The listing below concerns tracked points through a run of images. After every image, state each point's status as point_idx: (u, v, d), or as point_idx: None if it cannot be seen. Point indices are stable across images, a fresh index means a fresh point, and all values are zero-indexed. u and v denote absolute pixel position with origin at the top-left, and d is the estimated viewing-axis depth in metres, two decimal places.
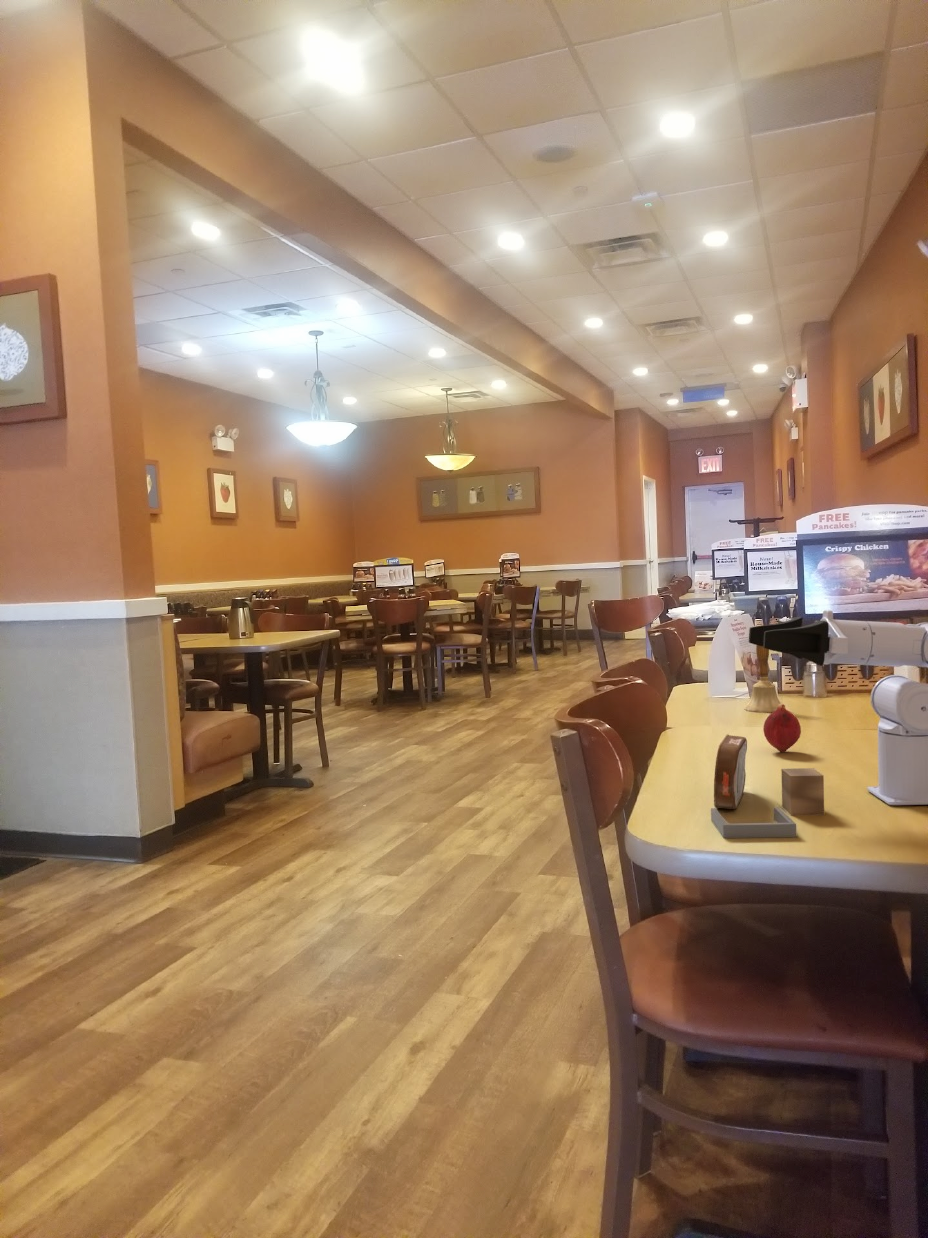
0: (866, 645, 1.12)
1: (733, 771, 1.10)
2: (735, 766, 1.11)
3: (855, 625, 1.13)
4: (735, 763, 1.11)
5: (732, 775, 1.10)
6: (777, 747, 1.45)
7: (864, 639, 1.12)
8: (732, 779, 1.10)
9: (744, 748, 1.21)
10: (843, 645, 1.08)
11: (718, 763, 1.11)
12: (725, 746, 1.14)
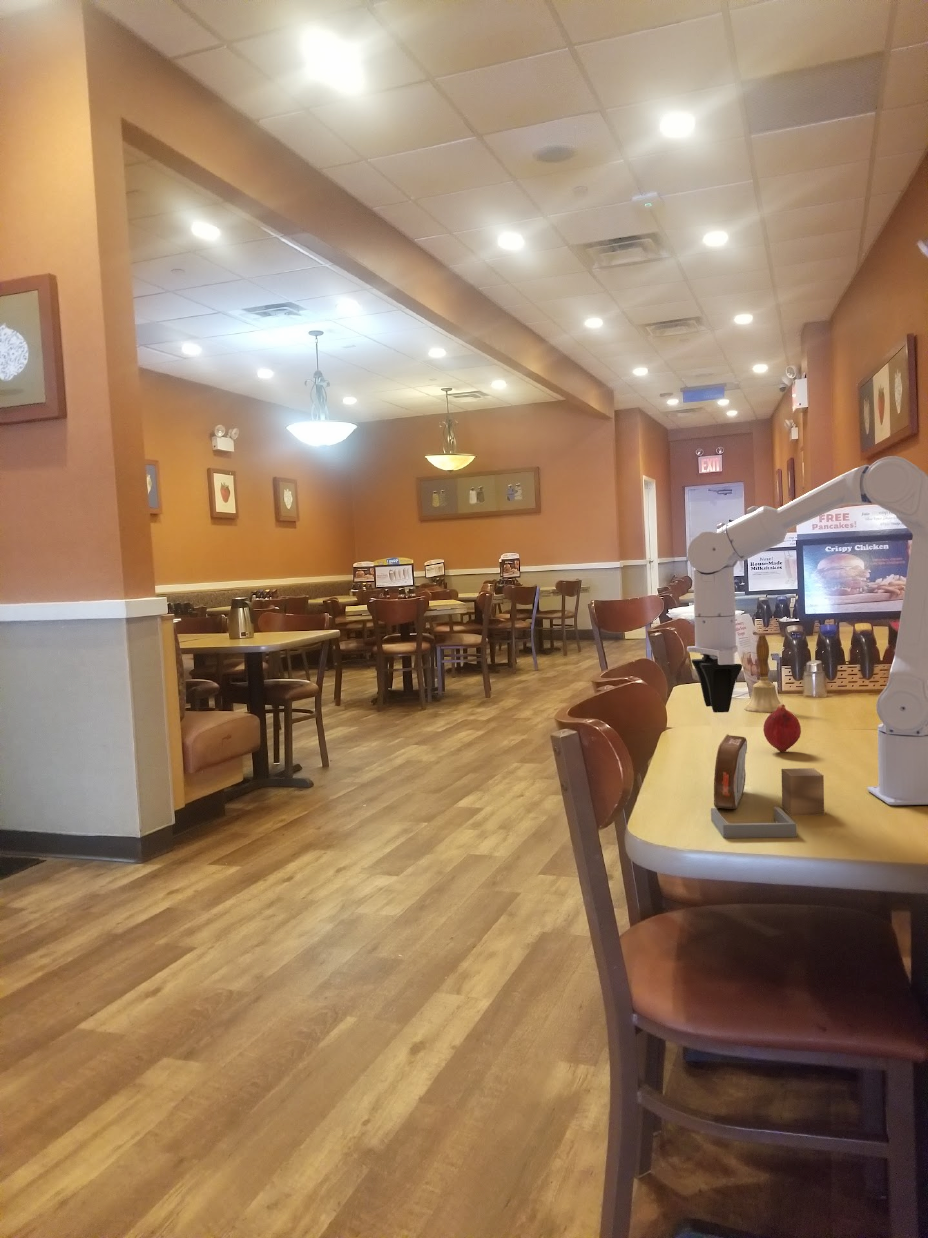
0: (719, 621, 1.25)
1: (733, 771, 1.10)
2: (735, 766, 1.11)
3: (701, 629, 1.27)
4: (735, 763, 1.11)
5: (732, 775, 1.10)
6: (777, 747, 1.45)
7: (714, 623, 1.25)
8: (732, 779, 1.10)
9: None
10: (725, 654, 1.21)
11: (718, 763, 1.11)
12: (725, 746, 1.14)
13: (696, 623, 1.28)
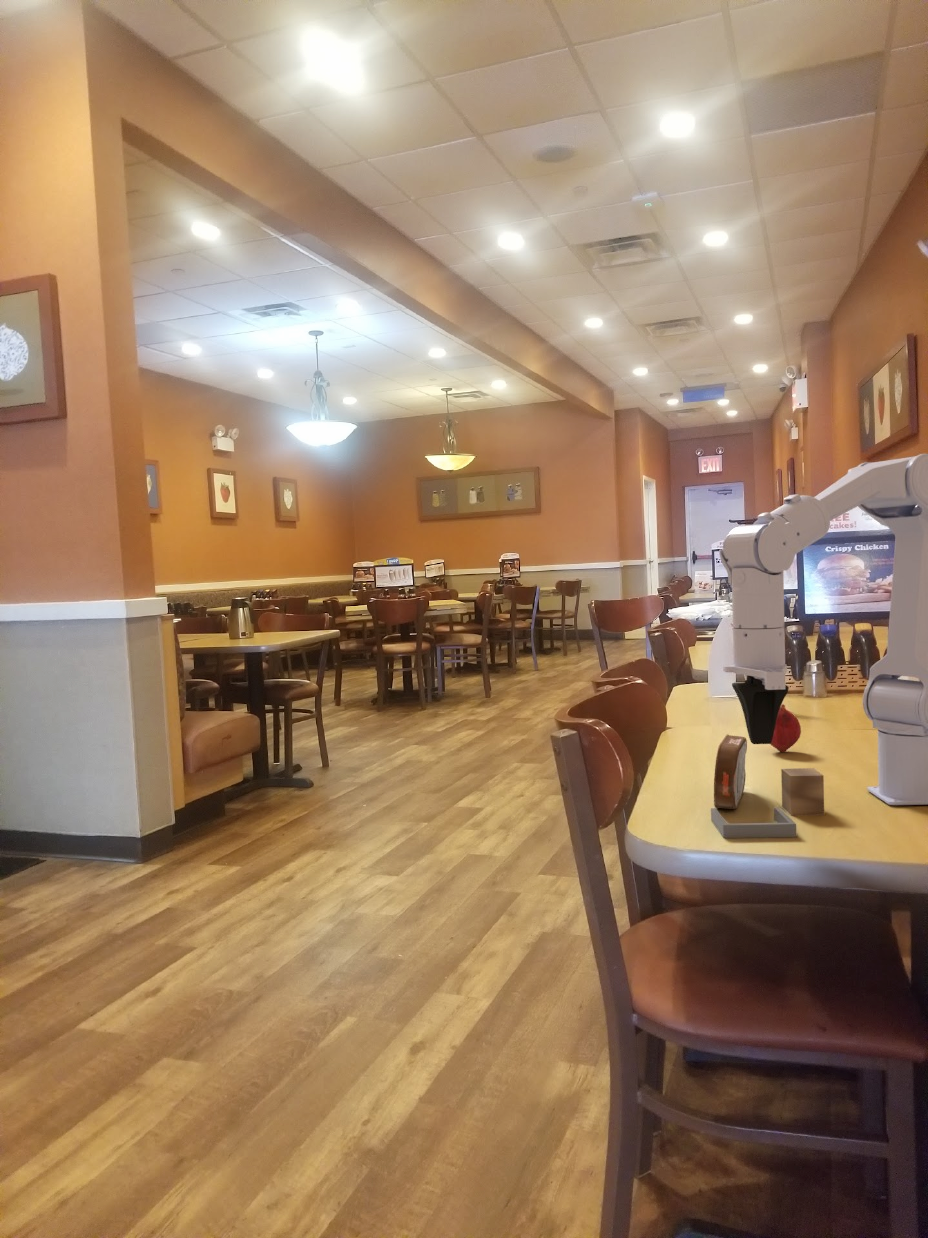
0: (765, 634, 1.00)
1: (733, 771, 1.10)
2: (735, 766, 1.11)
3: (741, 643, 1.02)
4: (735, 763, 1.11)
5: (732, 775, 1.10)
6: (777, 747, 1.45)
7: (758, 637, 1.00)
8: (732, 779, 1.10)
9: None
10: (775, 677, 0.96)
11: (718, 763, 1.11)
12: (725, 746, 1.14)
13: (735, 636, 1.03)
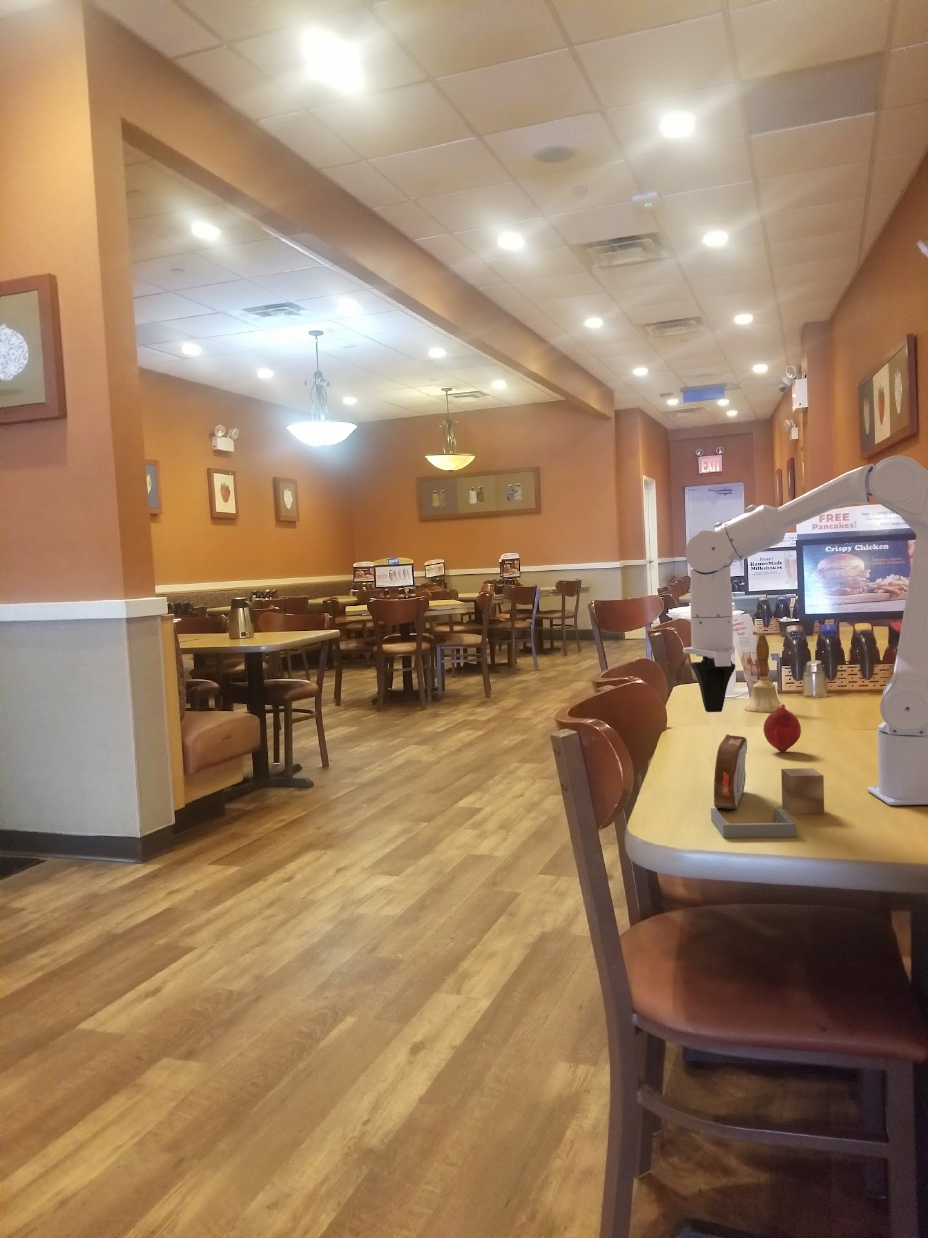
0: (716, 622, 1.23)
1: (733, 771, 1.10)
2: (735, 766, 1.11)
3: (697, 629, 1.24)
4: (735, 763, 1.11)
5: (732, 775, 1.10)
6: (777, 747, 1.45)
7: (711, 624, 1.23)
8: (732, 779, 1.10)
9: (744, 748, 1.21)
10: (723, 656, 1.19)
11: (718, 763, 1.11)
12: (725, 746, 1.14)
13: (692, 624, 1.25)
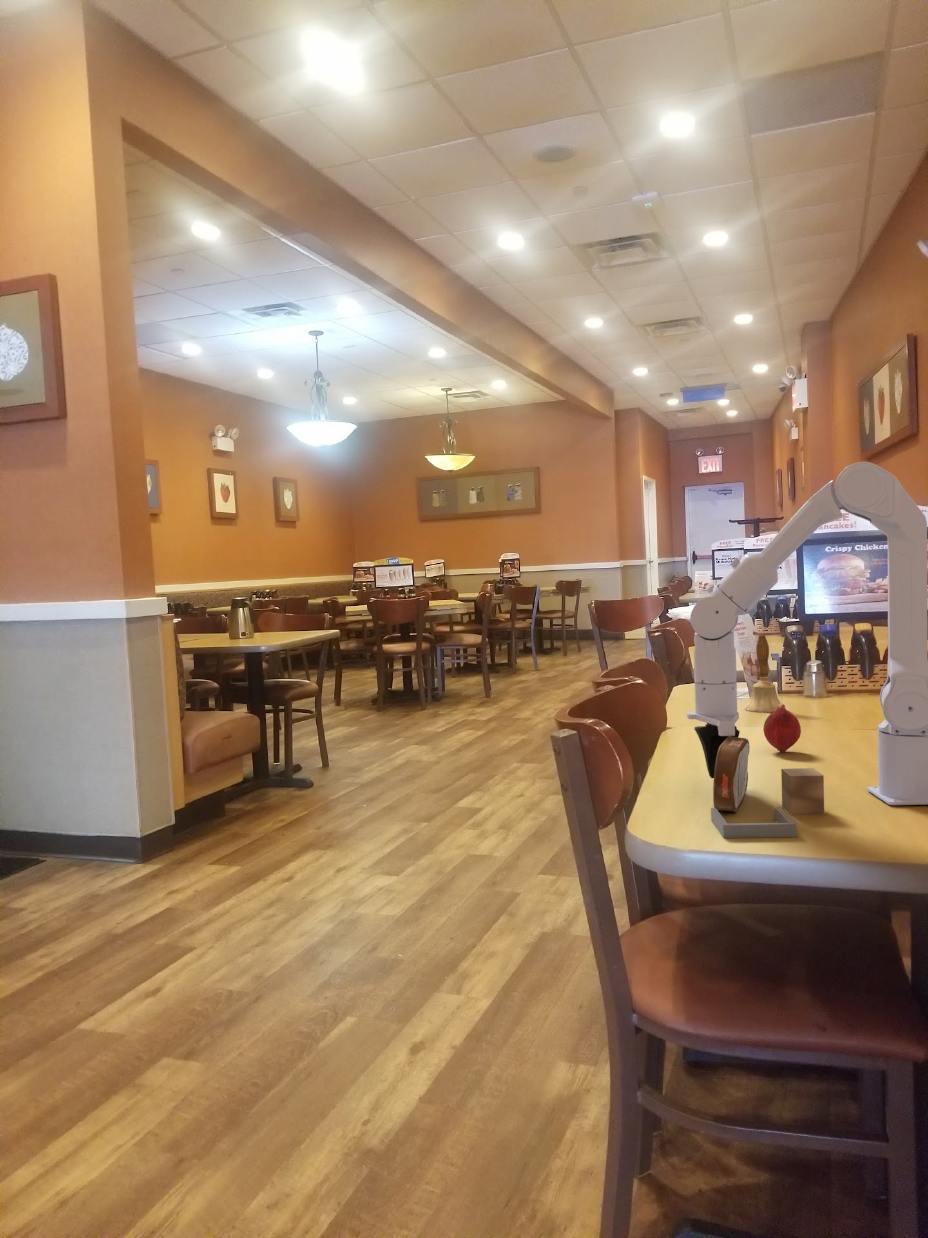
0: (720, 689, 1.21)
1: (733, 773, 1.09)
2: (735, 768, 1.09)
3: (701, 696, 1.23)
4: (735, 765, 1.09)
5: (732, 777, 1.09)
6: (777, 747, 1.45)
7: (714, 690, 1.22)
8: (732, 781, 1.09)
9: (746, 750, 1.19)
10: (726, 725, 1.17)
11: (717, 765, 1.10)
12: (725, 748, 1.12)
13: (696, 689, 1.24)
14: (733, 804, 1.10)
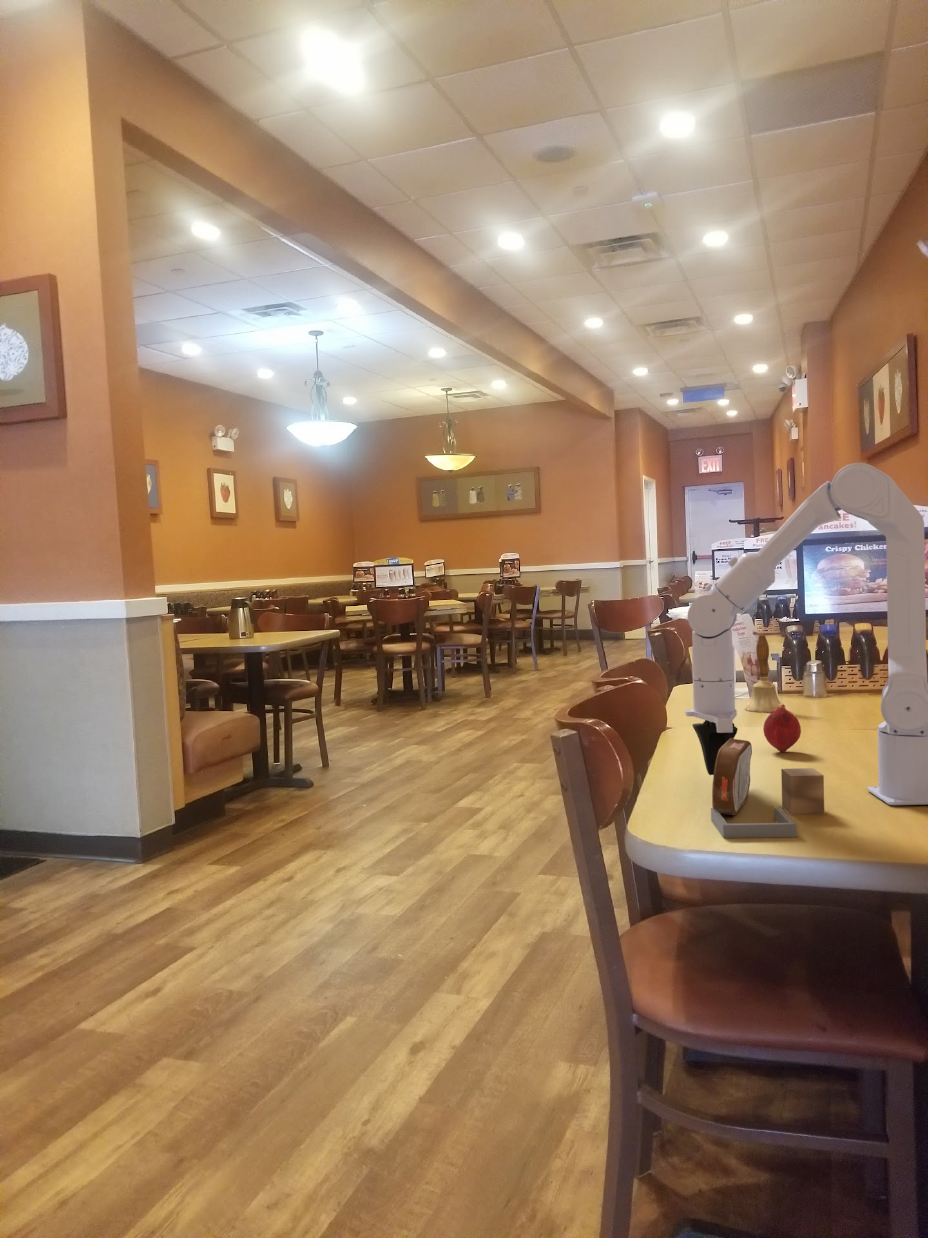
0: (718, 686, 1.23)
1: (732, 776, 1.07)
2: (734, 771, 1.08)
3: (699, 693, 1.24)
4: (734, 768, 1.08)
5: (731, 780, 1.07)
6: (777, 747, 1.45)
7: (712, 688, 1.23)
8: (731, 784, 1.07)
9: (748, 752, 1.18)
10: (724, 722, 1.19)
11: (717, 767, 1.08)
12: (725, 750, 1.11)
13: (694, 687, 1.25)
14: (732, 807, 1.08)
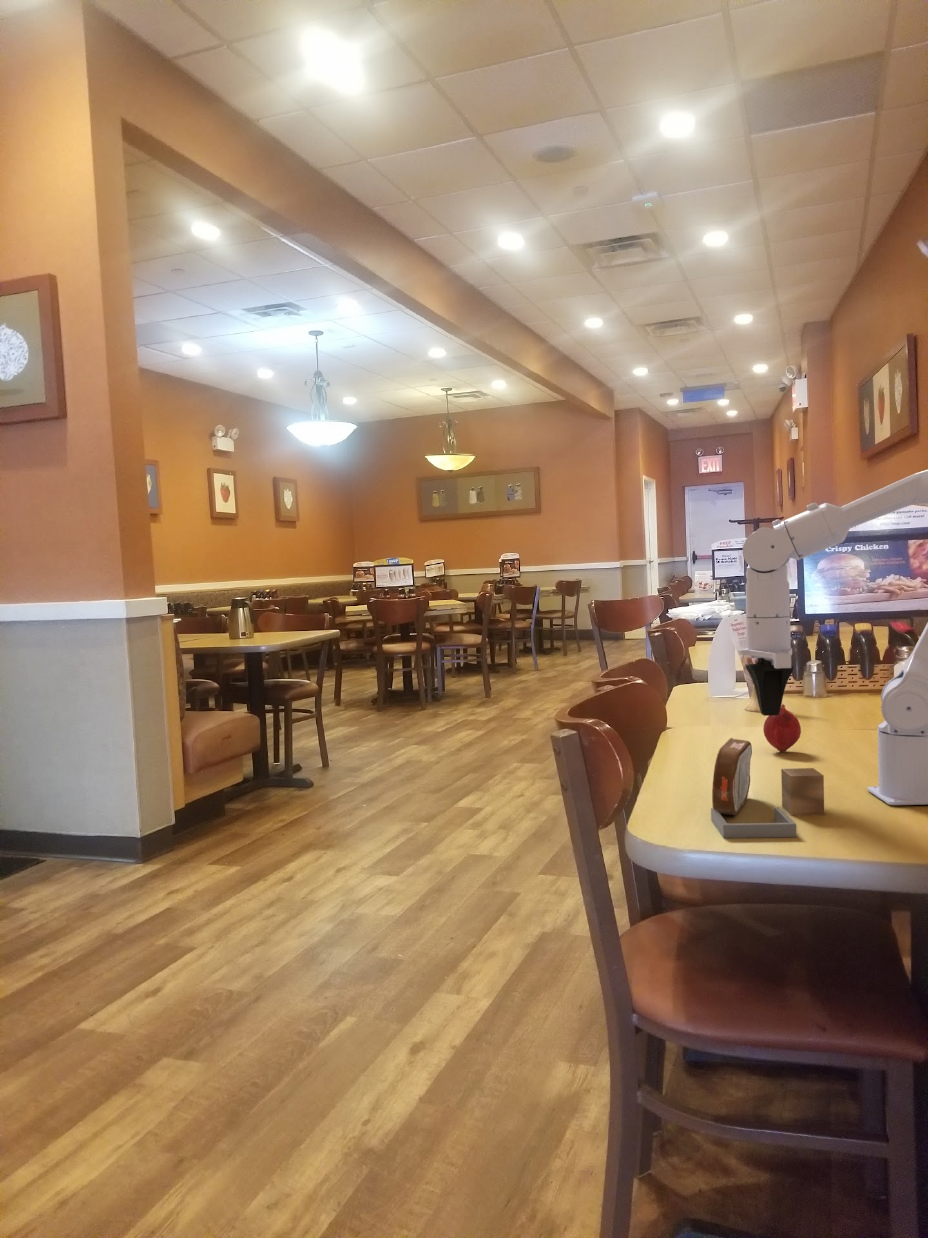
0: (774, 622, 1.19)
1: (732, 776, 1.07)
2: (734, 771, 1.08)
3: (754, 630, 1.20)
4: (734, 768, 1.08)
5: (731, 780, 1.07)
6: (777, 747, 1.45)
7: (768, 624, 1.19)
8: (731, 784, 1.07)
9: (748, 752, 1.18)
10: (783, 658, 1.15)
11: (717, 767, 1.08)
12: (725, 750, 1.11)
13: (748, 624, 1.21)
14: (732, 807, 1.08)
